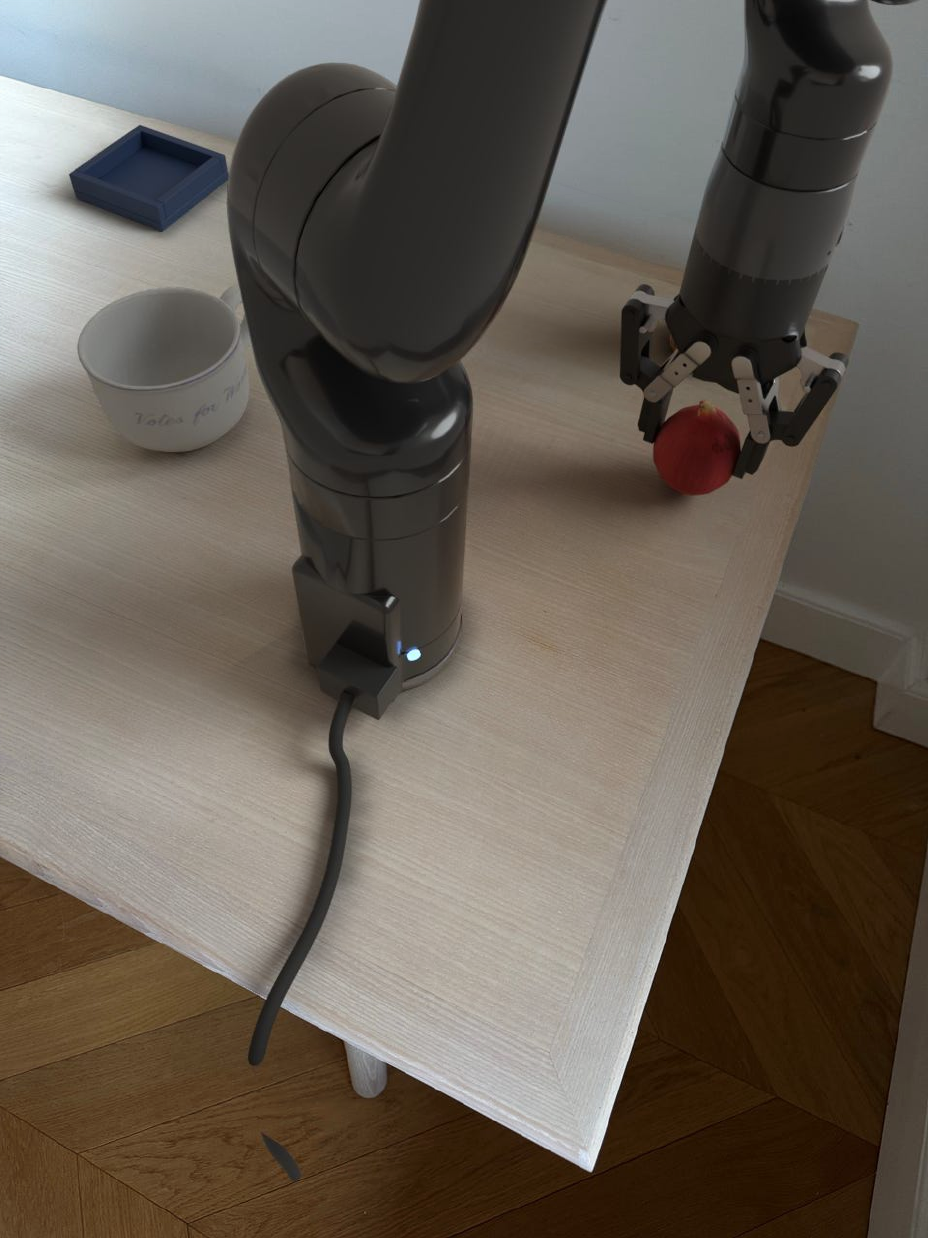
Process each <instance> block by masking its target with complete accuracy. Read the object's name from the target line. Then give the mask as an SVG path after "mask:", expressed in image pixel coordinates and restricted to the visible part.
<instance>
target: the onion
mask: <svg viewBox="0 0 928 1238" xmlns="http://www.w3.org/2000/svg"><path fill="white" fill-rule="evenodd" d="M741 450H742V447H741V436H740V432H739V430H738V428H737V426H736V425H735V423H734V422H733V421H732V420H731V419H730V418H729V416H728V415H727V414H726V413H725V411H722V410H721V409H719V408H718V407H715V406H714V404H713V403H712V402H711V401H709V400H703V399H702V400H700V401H699V404H695V405H689V406H685V407H683V408H680V409H679V410H677V411H676V412H675V413H673V414H672V415H670V416H669V417H667V419H665V422H664V423H663V425H662V426H661V428H660V430H659V432H658V434H657V436H656V438H655V440H654V443H653V444H652V461H653V463H654V466H655V468H656V470H657V472H658V475H659V477H660V478H661V480H663V481H664V482H665V483H666V485H668V486H669V487H670V488H671V489H673V490H675V491H677V492H678V493H680V494H682V495H685V496H691V497H694V496H702V495H709V494H711V493H713V492H715V491H717V490H720V488H722V487H723V486H725V485H726V484H727V483H729V481H730V480H731V478H732V477H733V476H732V475H733V472H734V469H735V466H736V463H737V461H738V458H739V455H740V452H741Z"/></svg>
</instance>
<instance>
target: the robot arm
mask: <svg viewBox="0 0 928 1238" xmlns="http://www.w3.org/2000/svg"><path fill="white" fill-rule="evenodd" d="M608 1H609V0H419V1H418V2H419V3H418V7H417V11H416V15H415V20H414V25H413V28H412V32H411V35H410V38H409V43H408V46H407V49H406V54H405V56H404V60H403V63H402V67H401V71H400V74H399V77H398V81H397V84H396V83H394V82H393V81H391V80H390V79H389V78H387V77H385V76H383V75H382V74H380V73H378V72H376V71H374V70H372V69H369V68H366V67H365V66H362V65H358V64H355V63H348V62H323V63H316V64H313V65H309V66H305V67H303V68H300V69H298V70H295V71H294V72H292V73H291V74H288V75H287V76H285V77H284V78H282V79H281V80H279V81H278V82H277V83H276V84H275V85H274V86H272V87H271V88H270V89H269V90H268V91H267V92H266V93H265V94H264V95H263V96H262V97H261V99H260V100H259V101H258V102H257V104H256V105H255V106H254V108H253V109H252V110H251V112H250V114H249V115H248V117H247V118H246V121H245V122H244V124H243V126H242V128H241V130H240V132H239V135H238V138H237V140H236V142H235V146H234V149H233V152H232V156H231V161H230V165H229V169H228V170H229V171H228V180H227V185H226V215H227V225H228V226H227V227H228V234H229V240H230V241H229V242H230V247H231V255H232V259H233V264H234V269H235V274H236V280H237V284H239V289H240V294H241V298H242V303H241V304H242V307H243V311H244V314H245V317H246V322H247V326H248V331H249V335H250V340H251V343H250V344H251V349H252V354H253V357H254V362H255V366H256V369H257V372H258V375H259V378H260V381H261V384H262V386H263V389H264V391H265V393H266V395H267V397H268V399H269V401H270V403H271V406H272V407H273V410H274V411H275V413H276V415H277V417H278V419H279V422H280V425H281V431H282V437H283V443H284V447H285V454H286V455H285V456H286V461H287V467H288V474H289V483H290V489H291V495H292V503H293V508H294V514H295V522H296V529H297V535H298V541H299V549H300V554H301V555H300V556H299V557H298V558H297V559H296V560H295V562H294V563H293V564H292V566H291V574H292V579H293V585H294V591H295V597H296V603H297V609H298V615H299V620H300V627H301V634H302V638H303V645H304V652H305V657H306V662H307V663H308V664H310V665H311V666H314V667H316V671H317V678H318V684H319V691H320V692H321V693H323V694H325V695H327V696H329V697H330V698H333V699H335V700H337V701H338V702H337V705H336V708H335V710H334V713H333V716H332V719H331V722H330V727H329V732H328V744H327V745H328V752H329V754H330V755H329V756H330V758H331V759H332V761H333V763H334V766H335V772H336V781H337V797H336V801H337V802H336V809H335V816H334V822H333V831H332V835H331V843H330V848H329V854H328V858H327V863H326V866H325V871H324V873H323V874H324V875H323V878H322V881H321V883H320V887H319V890H318V893H317V896H316V899H315V901H314V904H313V907H312V909H311V911H310V914H309V916H308V918H307V921H306V923H305V925H304V927H303V929H302V931H301V933H300V935H299V937H298V938H297V941H296V943H295V945H294V946H293V948H292V949H291V952H290V953H289V955H288V957H287V958H286V960H285V962H284V964H283V965H282V968H281V969H280V971H279V973H278V975H277V976H276V979H275V980H274V982H273V984H272V986H271V988H270V990H269V992H268V994H267V996H266V998H265V1000H264V1003H263V1006H262V1008H261V1010H260V1013H259V1015H258V1018H257V1020H256V1024H255V1026H254V1027H255V1028H254V1030H253V1034H252V1037H251V1039H250V1043H249V1050H248V1054H247V1061H248V1064H249V1065H250V1066H252V1067H256V1066H259V1065H260V1064H261V1063H262V1062H263V1061H264V1058H265V1056H266V1051H267V1048H268V1044H269V1039H270V1036H271V1033H272V1030H273V1028H274V1024H275V1022H276V1018H277V1016H278V1014H279V1011H280V1009H281V1007H282V1005H283V1003H284V1001H285V998H286V996H287V994H288V992H289V990H290V988H291V986H292V984H293V982H294V980H295V979H296V977H297V975H298V973H299V971H300V969H301V968H302V965H303V964H304V962H305V960H306V959H307V956H308V955H309V953H310V952H311V949H312V948H313V945H314V943H315V941H316V939H317V937H318V935H319V933H320V931H321V928H322V927H323V924H324V922H325V919H326V917H327V915H328V911H329V910H330V906H331V905H332V900H333V898H334V894H335V891H336V888H337V885H338V881H339V877H340V874H341V870H342V864H343V861H344V855H345V850H346V849H345V848H346V842H347V835H348V829H349V823H350V815H351V809H352V808H351V807H352V796H353V795H352V794H353V791H352V790H353V789H352V773H351V765H350V761H349V759H348V757H347V754H346V753H345V751H344V750H345V749H344V733H345V727H346V724H347V721H348V718H349V716H350V713H351V710H352V708H353V709H355V710H357V711H359V712H361V713H363V714H364V715H367V716H369V717H371V718H373V719H375V720H377V721H380V720H381V718H382V717H383V716H384V714H385V712H386V711H387V710H388V708H389V707H390V705H391V704H392V703H394V702H395V701H396V699H397V698H398V697H399V695H400V694H401V693H402V692H403V691H406V690H409V689H412V688H416V687H418V686H421V685H423V684H425V683H428V682H429V681H431V680H432V679H434V678H436V677H437V676H438V675H440V673H442V672H443V671H444V670H445V669H446V668H447V667H448V665H450V663H451V662H452V661H453V659H454V658H455V656H456V654H457V651H458V649H459V646H460V644H461V640H462V633H463V631H462V630H463V615H462V614H463V613H462V606H463V586H464V571H465V554H466V553H465V551H466V536H467V534H466V533H467V520H468V519H467V518H468V517H467V516H468V503H469V502H468V500H469V486H470V485H469V484H470V473H471V471H470V470H471V457H472V456H471V455H472V452H471V451H472V439H473V437H472V436H473V421H474V420H473V419H474V397H473V390H472V389H473V388H472V384H471V382H470V378H469V374H468V373H467V370H466V368H465V366H464V364H463V362H462V359H463V358H465V357H466V356H467V355H468V353H470V352H471V350H472V349H473V348H474V347H475V346H476V345H477V344H478V343H479V342H480V340H482V338H483V336H484V335H485V334H486V333H487V330H488V329H489V328H490V326H491V325H492V324H493V322H494V321H495V319H496V318H497V317H498V315H499V313H500V312H501V310H502V308H503V306H504V305H505V303H506V300H507V299H508V297H509V295H510V292H511V291H512V289H513V287H514V285H515V283H516V281H517V279H518V276H519V274H520V271H521V269H522V267H523V264H524V261H525V259H526V256H527V254H528V251H529V248H530V245H531V242H532V239H533V237H534V234H535V232H536V229H537V224H538V223H539V222H538V221H539V218H540V215H541V212H542V209H543V205H544V202H545V199H546V196H547V194H548V193H547V192H548V190H549V187H550V183H551V180H552V177H553V174H554V170H555V167H556V163H557V161H558V157H559V153H560V150H561V147H562V144H563V141H564V139H565V138H564V137H565V134H566V131H567V128H568V125H569V122H570V118H571V115H572V112H573V108H574V105H575V102H576V99H577V96H578V93H579V89H580V86H581V83H582V80H583V76H584V74H585V70H586V66H587V64H588V61H589V58H590V54H591V51H592V48H593V45H594V42H595V40H596V36H597V33H598V30H599V27H600V24H601V21H602V19H603V18H602V17H603V15H604V13H605V10H606V6H607V4H608ZM870 1H872V2H874V3H877V4H880V5H885V6H905V5H910V4H914V3H917V2H920V1H921V0H870ZM743 33H744V34H743V35H744V38H743V40H744V42H743V43H744V44H743V45H744V46H743V47H744V48H743V49H744V50H743V60H742V65H741V69H740V73H739V76H738V79H737V81H736V82H737V83H736V86H735V90H734V93H733V96H732V97H733V98H732V101H731V105H730V108H729V113H728V117H727V120H726V125H725V129H724V133H723V137H722V141H721V144H720V148H719V150H718V153H717V156H716V158H715V160H714V163H713V165H712V168H711V171H710V174H709V176H708V179H707V182H706V185H705V189H704V193H703V197H702V200H701V204H700V210H699V213H698V217H697V220H696V224H695V229H694V233H693V237H692V240H691V245H690V248H689V253H688V257H687V260H686V264H685V265H686V266H685V269H684V271H683V272H684V273H683V276H682V281H681V285H680V289H679V292H680V293H679V292H678V294H677V295H676V296H674V297H673V299H672V298H667V297H663V296H657V295H656V294H655V290H654V288H653V287H652V286H651V285H649V284H647V283H646V284H645V283H641V284H640V285H638V286H637V288H636V289H635V290H634V292H633V293H632V295H631V296H630V297H629V298H628V300H627V301H626V303H625V304H624V306H623V307H622V309H621V315H620V318H621V319H620V348H619V349H620V353H619V354H620V355H619V379H620V381H621V382H622V383H623V384H625V385H627V386H634V385H635V386H637V388H638V389H640V390H641V392H642V393H643V400H642V403H641V408H640V413H639V416H638V420H637V429H638V431H639V432H640V433H641V432H642V433H643V436H642V437H643V438H642V441H643V442H647V443H649V444H651V445H654V440H655V438H656V436H657V434H658V432H659V430H660V428H661V426H662V425H663V423H664V422H665V421H666V417H667V414H668V410H669V407H670V403H671V399H672V395H673V392H674V389H675V388H676V387H678V386H679V385H680V384H681V383H682V382H683V381H684V380H685V379H686V378H687V377H688V376H689V375H690V374H691V373H692V375H691V377H692V378H694V379H697V380H699V381H702V382H708V383H715V384H717V385H719V386H720V387H722V388H724V389H725V390H727V391H729V392H732V393H735V394H737V395H739V399H740V404H741V409H742V413H743V415H746V416H747V420H748V426H749V431H748V433H747V435H746V437H745V438H744V442H743V445H742V447H741V452H740V455H739V458H738V461H737V463H736V466H735V469H734V472H733V475H732V477H734V478H737V479H740V480H743V478H744V477H745V476H746V474H748V475H751V476H753V475H754V474H755V473H756V472H757V471H758V470H759V468H760V466H761V465H762V463H763V461H764V458H765V456H766V454H767V451H768V449H769V446H770V444H771V442H772V441H781V442H782V443H783V444H784V445H785V446H786V447H791V448H793V447H797V446H799V445H800V443H801V442H802V440H803V439H804V438H805V436H806V435H807V433H808V432H809V430H810V429H811V427H812V426H813V425H814V423H815V422H816V420H817V419H818V417H819V416H820V414H821V413H822V411H823V410H824V408H825V407H826V405H827V404H828V403H829V401H830V400H831V398H832V397H833V395H834V394H835V392H836V390H837V389H838V387H839V385H840V382H841V381H842V379H843V376H844V374H845V372H846V370H847V369H848V366H849V362H850V360H849V357H848V356H847V355H846V354H845V353H843V352H832V353H831V354H830V355H829V356H826V355H824V354H822V353H821V352H819V351H817V350H815V349H813V348H811V347H810V346H808V340H807V336H806V325H807V322H808V320H809V317H810V315H811V312H812V310H813V307H814V305H815V301H816V299H817V296H818V294H819V291H820V289H821V286H822V283H823V281H824V278H825V276H826V273H827V270H828V268H829V265H830V262H831V259H832V257H833V254H834V253H835V249H836V248H837V247H838V245H839V244H840V242H841V240H842V237H843V235H844V234H843V233H844V229H845V224H846V220H847V218H848V214H849V212H850V209H851V204H852V201H853V196H854V191H855V187H856V183H857V179H858V175H859V173H860V169H861V167H862V164H863V161H864V158H865V155H866V153H867V150H868V149H869V146H870V142H871V140H872V137H873V135H874V131H875V129H876V127H877V124H878V121H879V119H880V116H881V114H882V112H883V108H884V106H885V105H886V104H885V103H886V101H887V97H888V95H889V92H890V89H891V84H892V81H893V75H894V58H893V54H892V51H891V48H890V46H889V44H888V42H887V40H886V38H885V37H884V35H883V33H882V32H881V30H880V28H879V27H878V25H877V22H876V21H875V19H874V16H873V13H872V11H871V7H870V3H869V0H744V1H743ZM661 321H665V325H666V327H667V330H668V331H669V335H670V334H671V336H672V338H673V340H674V343H675V345H676V347H677V349H676V350H675V352H673V353H671V354H670V356H669V357H668V358H667V359H665V361H664V362H663V363H661V365H658V364H657V362H655V361H653V360H652V348H653V332H654V331H655V330H656V328H657V327H658V326H659V324H660V322H661ZM795 368H797V369H799V371H800V374H801V378H800V381H799V383H800V386H801V387H802V391H803V393H804V395H803V396H802V398H801V399H800V401H799V402H798V404H797V405H796V407H795V409H794V410H793V411H787V410H782V405H781V400H780V395H779V389H780V383H781V382H780V381H781V380H780V376H782V375H785V374H786V373H788V372H790V371H792V370H793V369H795ZM260 1134H261V1138H262V1140H263V1143H264V1145H265V1147H266V1149H267V1150H268V1152H269V1153H270V1155H271V1157H273V1159H274V1160H275V1161H276V1162H277V1163H278V1165H280V1167H282V1169H283V1170H284V1172H285V1173H286V1174H287V1175H288V1178H289V1179H290V1180H291V1181H292V1182H298V1181H299V1180H300V1179H301V1177H302V1172H301V1169H300V1167H299V1164H298V1163H297V1162H296V1160H295V1159H294V1157H293V1156H292V1155H291V1153H290V1152H289V1151H288V1150H287V1148H286V1147H285V1146H284V1145H282V1144H281V1143H279V1142H277V1141H276V1140H274V1139H273V1138H271V1137H269V1136H268V1135H266V1134H265V1133H263V1132H262V1131H260Z"/></svg>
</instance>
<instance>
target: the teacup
mask: <svg viewBox="0 0 928 1238" xmlns="http://www.w3.org/2000/svg"><path fill="white" fill-rule="evenodd" d="M241 304H243V303H242V298H241V294H240V289H239V284H238V283H237V284H234V285H231V286H229V287H228V288H227V289H225V290H224V291H223V293H222V294H221V295H220V297H218V296H216V295H214V294H211V293H209V292H206V291H202V290H197V289H194V288H187V287H180V286H179V287H178V286H176V287H175V286H173V287H171V286H169V287H168V286H167V287H160V288H151V289H146V290H141V291H138V292H134V293H131V294H129V295H126V296H123V297H120V298H119V299H116V300H114V301H112V302H110V303H108V304H107V305H106V306H104V307H103V308H101V309H100V310H99V311H97V312H96V313H95V314H94V315H93V316H92V317H90V319H89V320H88V321H87V323H86V324H85V325H84V327H83V328H82V330H81V332H80V334H79V338H78V341H77V348H76V349H77V355H78V359H79V361H80V363H81V366H82V367H83V369H84V370H85V371H86V373H87V376H88V378H89V381H90V384H91V386H92V389H93V391H94V393H95V396H96V399H97V400H98V403H99V405H100V407H101V409H102V412H103V413H104V415H105V417H106V418H107V420H108V422H109V423H110V425H111V427H113V429H114V430H115V431H116V432H117V433H118V434H119V435H120V436H121V437H122V438H124V439H125V440H127V441H129V442H130V443H132V444H134V445H136V446H138V447H141V448H144V449H147V450H151V451H156V452H166V453H168V452H169V453H182V452H183V453H184V452H190V451H195V450H198V449H201V448H204V447H206V446H209V445H211V444H212V443H214V442H216V441H217V440H219V439H220V438H222V437H223V436H224V435H227V434H228V432H230V431H231V430H232V429H233V428H235V426H236V425H237V424H238V423H239V421H240V420H241V419H242V417H243V415H244V413H245V411H246V409H247V406H248V404H249V400H250V390H251V385H250V373H249V368H248V363H247V359H246V353H245V352H246V350H247V349H248V348H249V347H250V344H251V340H250V335H249V331H248V326H247V322H246V317H245V313H244V315H243V318H242V320H241V322H240V319H239V317H238V315H237V314H236V311H237V310H238V307H239V305H241Z"/></svg>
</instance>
